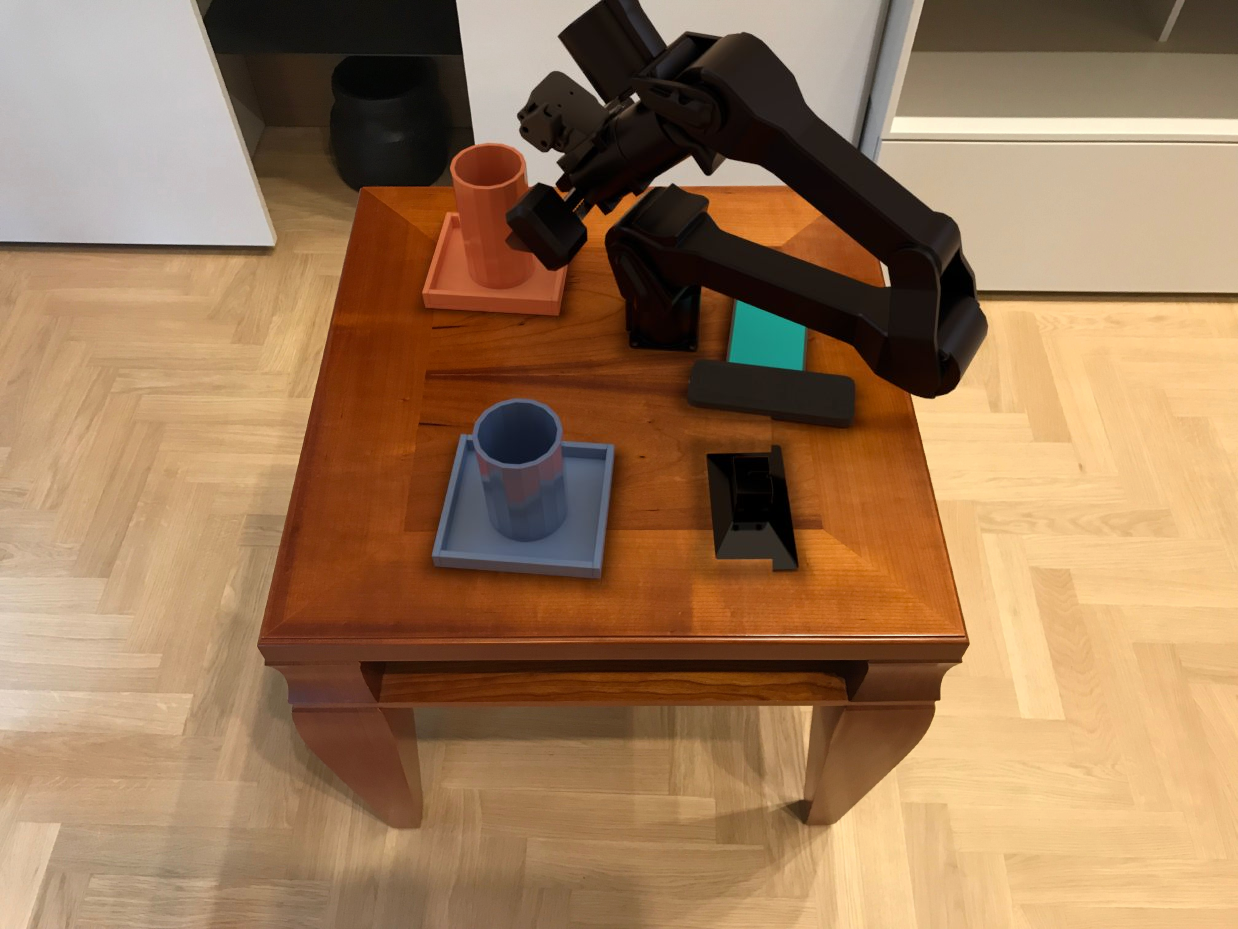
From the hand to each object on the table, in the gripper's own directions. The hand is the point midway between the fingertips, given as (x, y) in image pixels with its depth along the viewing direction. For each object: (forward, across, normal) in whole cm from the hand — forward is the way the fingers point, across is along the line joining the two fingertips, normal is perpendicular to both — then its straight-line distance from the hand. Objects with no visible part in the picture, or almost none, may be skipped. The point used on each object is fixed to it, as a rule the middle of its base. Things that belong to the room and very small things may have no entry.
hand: (534, 215), depth 88 cm
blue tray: (-3, +24, +15) cm, 29 cm away
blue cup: (-3, +24, +15) cm, 28 cm away
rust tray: (+9, 0, +3) cm, 10 cm away
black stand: (-14, +16, +27) cm, 34 cm away
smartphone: (-10, -5, +22) cm, 25 cm away
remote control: (-12, +4, +24) cm, 28 cm away
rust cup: (+9, 0, +2) cm, 9 cm away
